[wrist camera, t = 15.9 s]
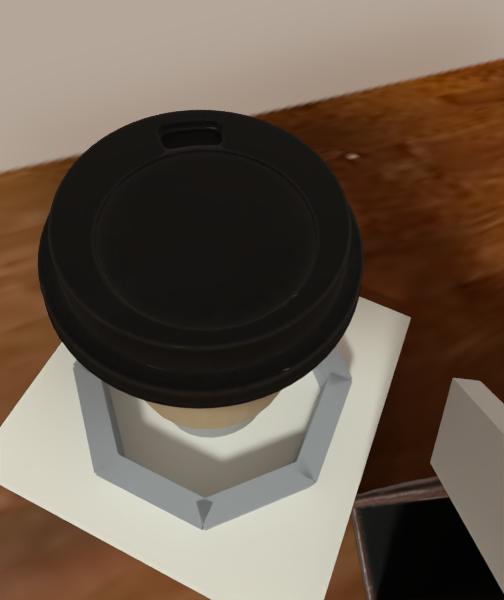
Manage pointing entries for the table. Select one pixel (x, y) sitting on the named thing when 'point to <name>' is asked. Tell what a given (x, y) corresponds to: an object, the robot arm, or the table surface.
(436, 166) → the table surface
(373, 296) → the table surface
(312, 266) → the coffee cup
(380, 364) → the dock board
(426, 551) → the letter holder
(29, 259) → the table surface
